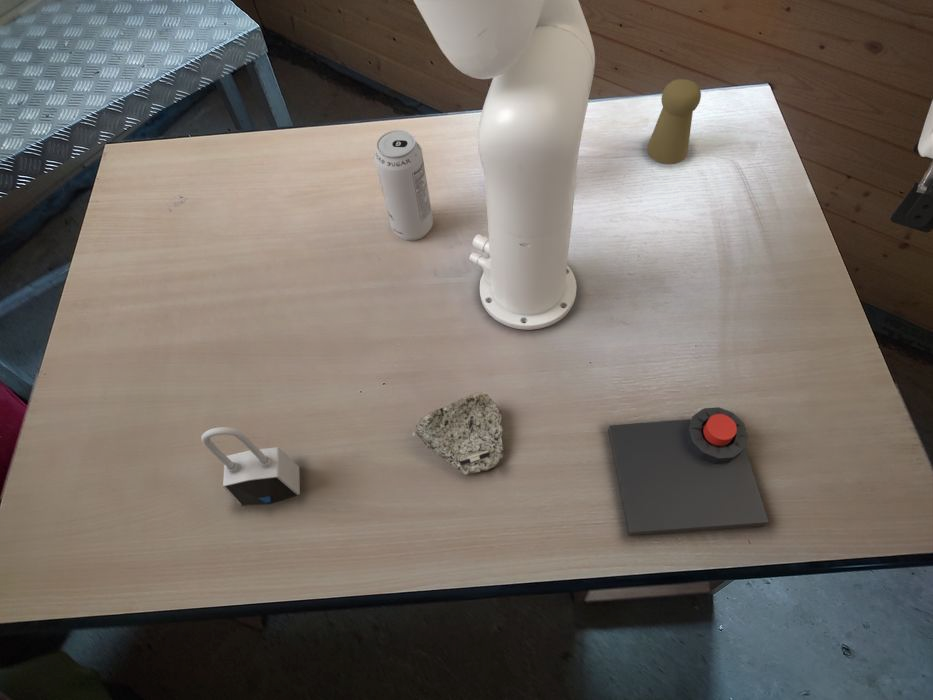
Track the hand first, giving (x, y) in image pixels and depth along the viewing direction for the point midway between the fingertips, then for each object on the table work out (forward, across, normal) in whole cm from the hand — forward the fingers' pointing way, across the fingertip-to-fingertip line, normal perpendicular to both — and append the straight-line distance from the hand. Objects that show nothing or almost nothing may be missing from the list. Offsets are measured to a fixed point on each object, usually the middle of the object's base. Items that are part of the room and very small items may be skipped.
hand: (920, 189), depth 55 cm
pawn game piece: (+24, -23, -27) cm, 43 cm away
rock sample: (+24, +32, -29) cm, 49 cm away
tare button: (+21, +19, -6) cm, 29 cm away
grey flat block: (+24, +25, -7) cm, 35 cm away
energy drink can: (+24, +8, -53) cm, 59 cm away
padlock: (+24, +48, -46) cm, 71 cm away
